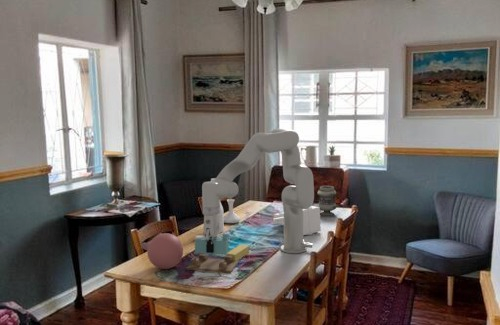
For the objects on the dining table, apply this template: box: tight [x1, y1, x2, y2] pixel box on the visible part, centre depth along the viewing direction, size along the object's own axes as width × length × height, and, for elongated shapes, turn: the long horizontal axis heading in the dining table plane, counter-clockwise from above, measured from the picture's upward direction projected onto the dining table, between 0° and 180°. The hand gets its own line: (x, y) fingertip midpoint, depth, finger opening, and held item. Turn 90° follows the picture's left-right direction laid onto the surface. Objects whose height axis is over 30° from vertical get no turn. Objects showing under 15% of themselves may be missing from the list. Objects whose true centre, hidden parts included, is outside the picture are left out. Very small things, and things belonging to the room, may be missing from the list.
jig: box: [186, 253, 239, 274], centre depth 198 cm, size 20×12×4 cm, turn 77°
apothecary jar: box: [316, 185, 338, 218], centre depth 284 cm, size 12×12×18 cm
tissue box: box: [272, 205, 322, 236], centre depth 253 cm, size 15×25×28 cm
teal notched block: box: [194, 233, 230, 256], centre depth 197 cm, size 14×4×8 cm, turn 80°
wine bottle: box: [210, 177, 225, 234], centre depth 250 cm, size 10×10×30 cm
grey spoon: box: [224, 198, 241, 224], centre depth 269 cm, size 13×11×25 cm
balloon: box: [140, 232, 184, 270], centre depth 197 cm, size 15×20×15 cm
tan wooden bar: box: [225, 244, 250, 262], centre depth 210 cm, size 4×14×4 cm, turn 153°
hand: (212, 250), depth 197 cm, fingers closed on teal notched block, 4 cm apart
